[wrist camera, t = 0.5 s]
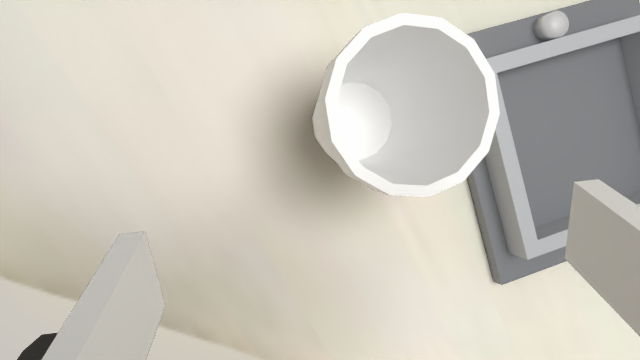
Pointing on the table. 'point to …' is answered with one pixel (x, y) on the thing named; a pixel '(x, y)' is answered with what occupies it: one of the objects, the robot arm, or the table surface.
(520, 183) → the tray
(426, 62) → the foam cup
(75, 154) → the table surface
